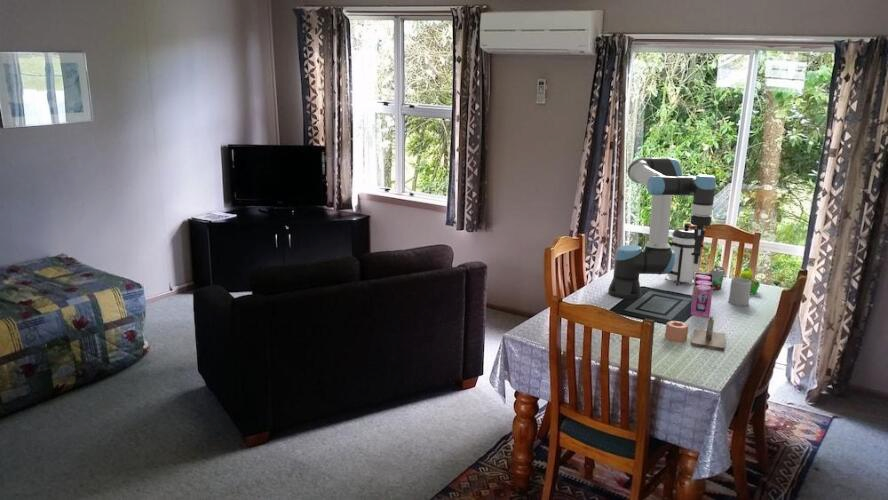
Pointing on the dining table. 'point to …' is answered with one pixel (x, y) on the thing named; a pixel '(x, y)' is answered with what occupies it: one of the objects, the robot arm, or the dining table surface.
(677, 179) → the robot arm
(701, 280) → the gum box
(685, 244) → the coffee press
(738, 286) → the mug
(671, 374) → the dining table surface
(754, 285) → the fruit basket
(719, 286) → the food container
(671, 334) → the hex nut
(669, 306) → the dining table surface
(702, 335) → the peg board
